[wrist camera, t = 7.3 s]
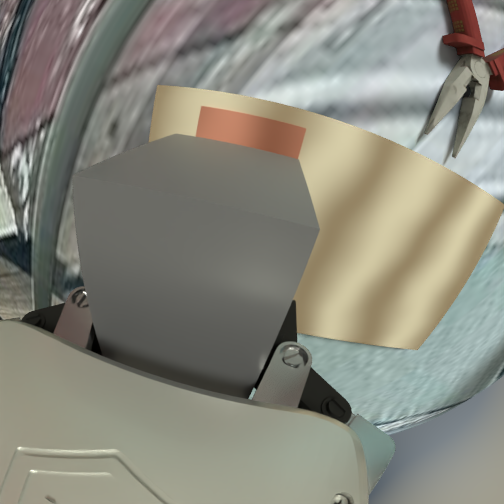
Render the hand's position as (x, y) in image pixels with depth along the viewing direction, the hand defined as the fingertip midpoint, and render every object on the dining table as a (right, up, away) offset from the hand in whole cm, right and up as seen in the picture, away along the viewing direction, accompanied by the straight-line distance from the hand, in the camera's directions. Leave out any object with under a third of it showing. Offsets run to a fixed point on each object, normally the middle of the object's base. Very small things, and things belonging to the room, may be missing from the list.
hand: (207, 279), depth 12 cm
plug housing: (0, 0, +1) cm, 1 cm away
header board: (+8, +2, +6) cm, 10 cm away
